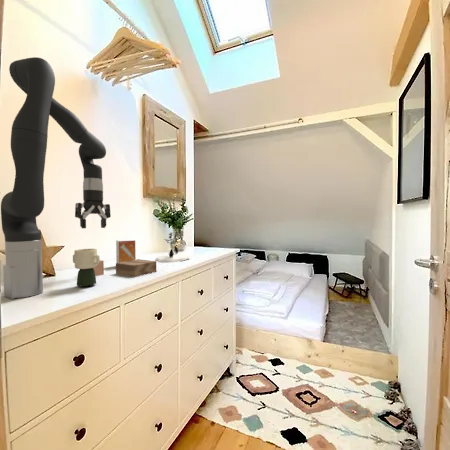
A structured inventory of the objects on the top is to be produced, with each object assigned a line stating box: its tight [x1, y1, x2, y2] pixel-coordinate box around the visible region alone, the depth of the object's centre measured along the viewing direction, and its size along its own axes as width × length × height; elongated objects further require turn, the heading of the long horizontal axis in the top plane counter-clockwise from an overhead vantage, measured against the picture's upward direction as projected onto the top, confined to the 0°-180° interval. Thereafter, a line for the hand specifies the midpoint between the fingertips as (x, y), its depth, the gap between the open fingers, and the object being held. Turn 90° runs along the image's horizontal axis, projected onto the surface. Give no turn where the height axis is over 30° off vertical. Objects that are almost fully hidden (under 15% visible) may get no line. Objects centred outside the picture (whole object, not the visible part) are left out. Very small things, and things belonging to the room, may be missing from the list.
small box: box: [115, 239, 137, 263], centre depth 132 cm, size 8×6×13 cm
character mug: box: [72, 248, 101, 288], centre depth 93 cm, size 11×7×13 cm, turn 77°
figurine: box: [154, 232, 190, 263], centre depth 150 cm, size 20×18×16 cm
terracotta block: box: [93, 259, 105, 277], centre depth 112 cm, size 5×5×6 cm
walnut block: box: [115, 258, 157, 278], centre depth 115 cm, size 12×12×5 cm
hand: (93, 228), depth 111 cm, fingers open, 8 cm apart
